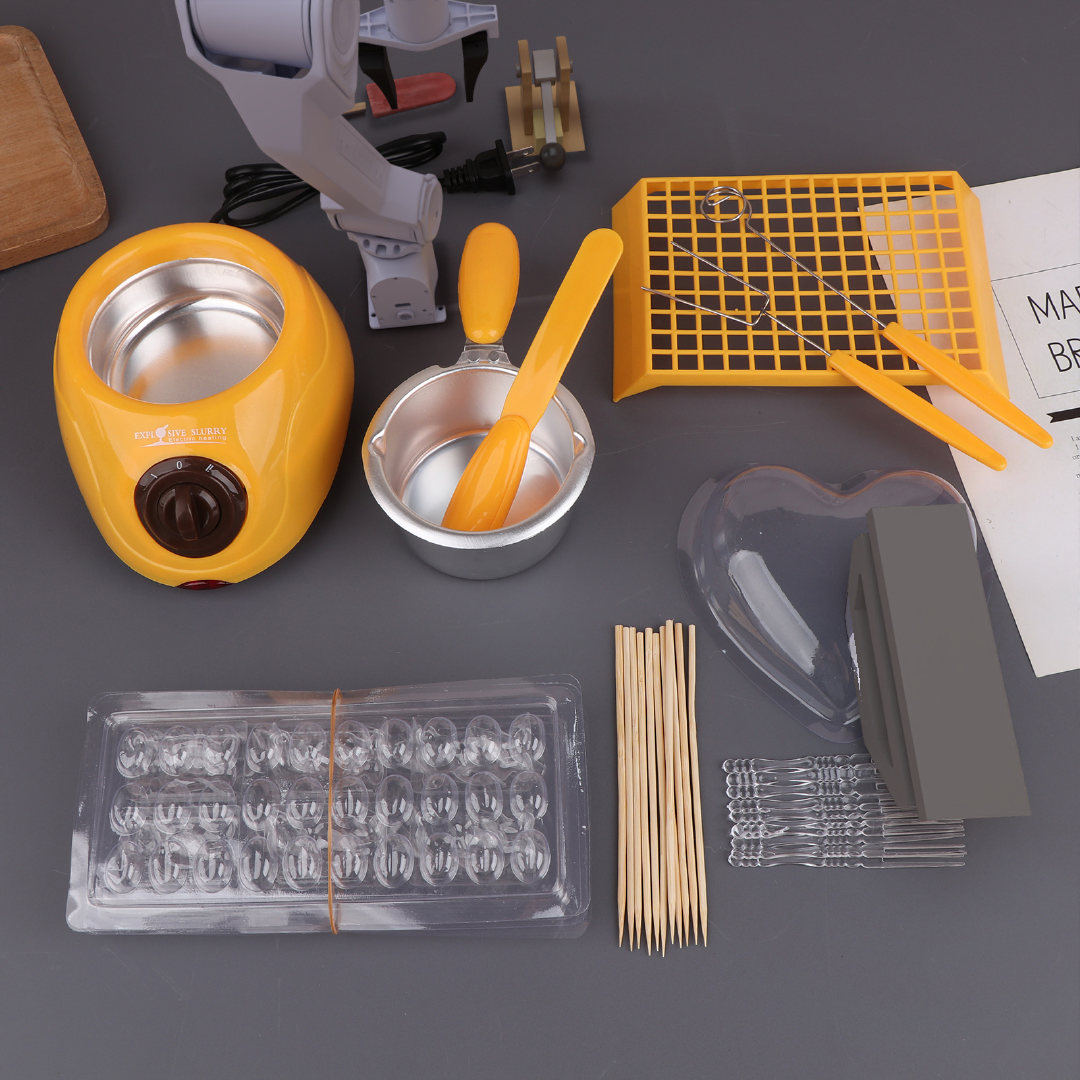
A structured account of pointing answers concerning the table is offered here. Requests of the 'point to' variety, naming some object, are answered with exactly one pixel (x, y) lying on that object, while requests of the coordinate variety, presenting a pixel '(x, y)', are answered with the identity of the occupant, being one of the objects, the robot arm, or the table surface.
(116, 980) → the table surface
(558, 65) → the wooden lever stand
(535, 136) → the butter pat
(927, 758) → the grey stepped block
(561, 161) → the knife lever
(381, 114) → the popsicle
